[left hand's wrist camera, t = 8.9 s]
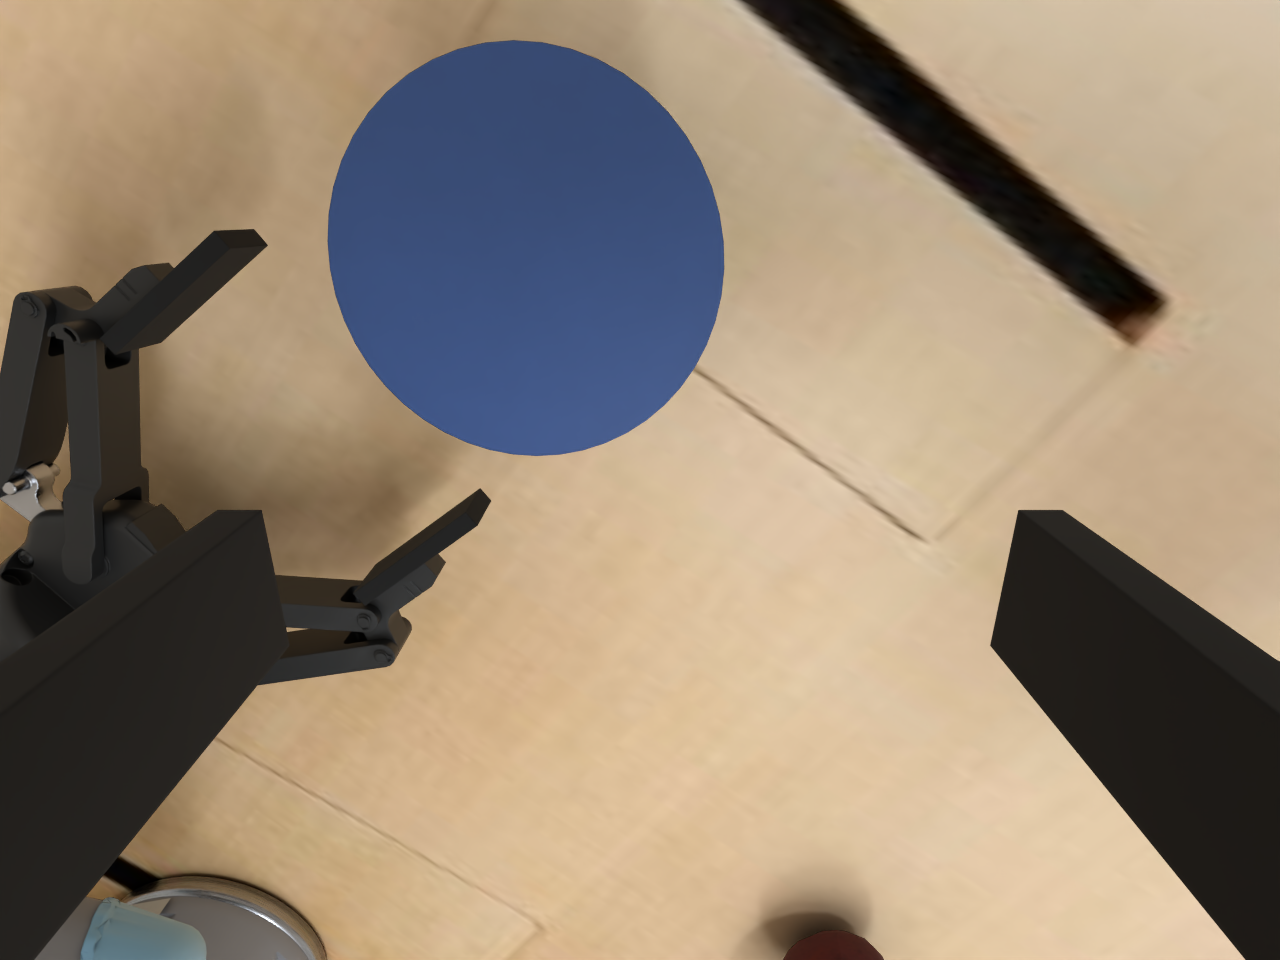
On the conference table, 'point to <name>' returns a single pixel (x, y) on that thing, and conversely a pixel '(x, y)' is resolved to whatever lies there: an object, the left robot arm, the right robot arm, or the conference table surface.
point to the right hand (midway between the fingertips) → (369, 380)
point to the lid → (525, 248)
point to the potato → (833, 947)
